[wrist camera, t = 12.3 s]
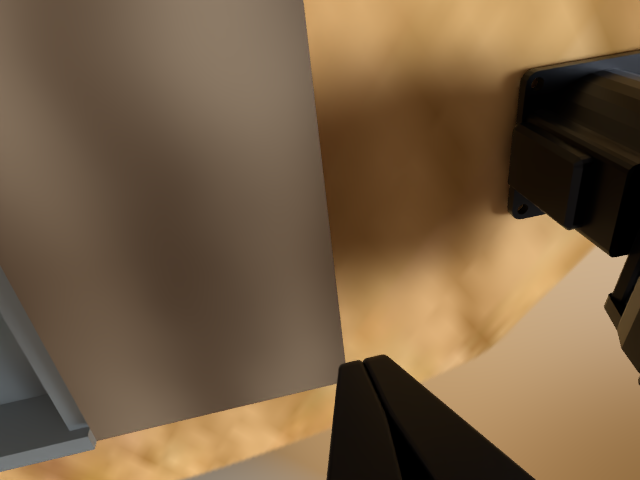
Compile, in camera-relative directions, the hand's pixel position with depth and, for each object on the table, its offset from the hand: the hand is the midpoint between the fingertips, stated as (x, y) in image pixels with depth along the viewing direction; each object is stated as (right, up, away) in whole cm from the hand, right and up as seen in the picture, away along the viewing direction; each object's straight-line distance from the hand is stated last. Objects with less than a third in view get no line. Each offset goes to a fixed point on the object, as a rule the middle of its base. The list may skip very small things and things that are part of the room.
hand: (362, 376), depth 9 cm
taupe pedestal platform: (-6, +5, +10) cm, 13 cm away
